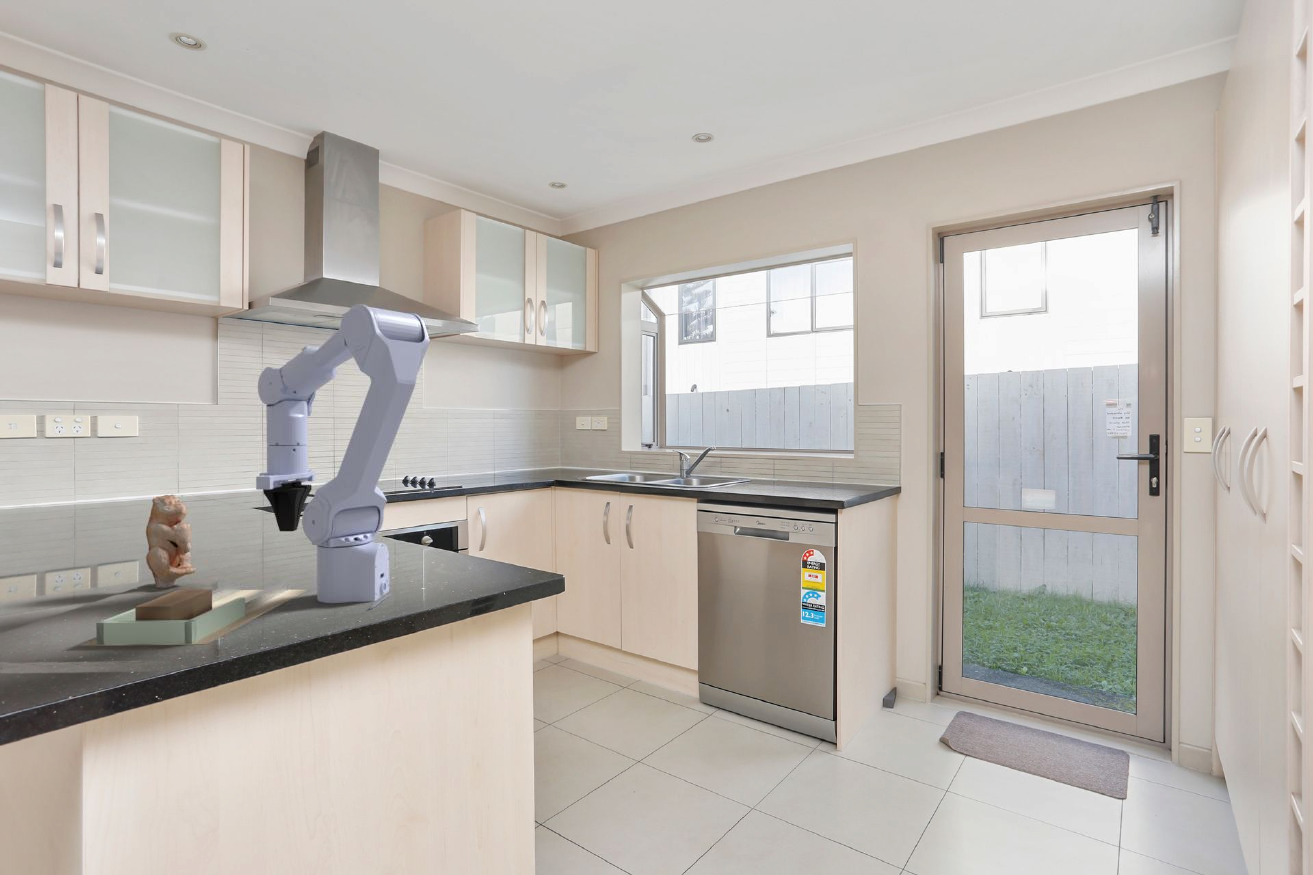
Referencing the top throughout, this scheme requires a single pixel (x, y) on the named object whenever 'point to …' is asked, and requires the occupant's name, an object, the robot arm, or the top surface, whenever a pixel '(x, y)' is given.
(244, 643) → the top surface
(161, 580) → the figurine
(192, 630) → the tray
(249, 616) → the slot board
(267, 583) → the top surface
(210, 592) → the brown wooden block
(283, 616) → the top surface
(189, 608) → the chip
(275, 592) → the slot rails
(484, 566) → the top surface
